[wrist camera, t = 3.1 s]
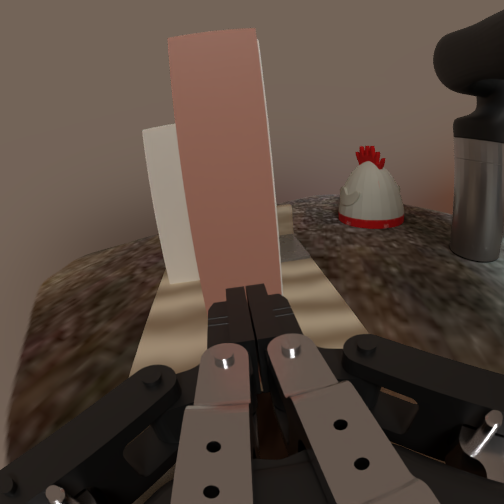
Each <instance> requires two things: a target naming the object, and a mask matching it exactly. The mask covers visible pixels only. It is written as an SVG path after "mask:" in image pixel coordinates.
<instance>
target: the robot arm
mask: <svg viewBox="0 0 504 504" xmlns="http://www.w3.org/2000/svg"><path fill="white" fill-rule="evenodd" d="M433 64H434V69H435V72H436V74H437V76H438V78H439V80H440V81H441V82H442V83H443V84H444V85H445V86H446V87H447V88H449V89H450V90H452V91H455V92H457V93H462V94H467V95H473V96H477V107H476V110H475V111H474V112H473V113H471V114H469V115H467V116H464V117H460V118H457V119H455V120H454V124H453V132H454V156H455V157H454V160H455V175H454V176H455V177H454V202H453V217H452V227H451V237H450V246H449V247H450V249H451V250H452V251H453V252H454V253H456V254H457V255H459V256H462V257H464V258H467V259H470V260H475V261H483V262H488V261H494V260H496V259H498V258H499V253H500V248H501V242H502V235H503V229H504V10H502V11H500V12H498V13H496V14H494V15H492V16H490V17H488V18H486V19H484V20H482V21H481V22H479V23H477V24H474V25H472V26H469V27H467V28H464V29H461V30H458V31H455V32H452V33H450V34H447V35H445V36H444V37H442V38H441V40H440V41H439V42H438V44H437V46H436V48H435V51H434V58H433ZM245 287H246V294H245V289H244V286H241V287H234V288H226V301H223V302H215V303H213V304H212V306H211V307H210V308H209V310H208V329H207V350H206V351H205V352H204V353H203V354H202V356H201V360H200V364H199V365H197V366H196V367H194V368H192V369H190V370H187V371H184V372H181V373H177V374H176V373H175V371H174V370H173V369H172V368H170V367H168V366H166V365H159V364H158V365H150V366H147V367H144V368H142V369H140V370H139V371H137V372H136V373H134V374H133V375H132V376H130V377H129V378H128V379H127V380H125V381H124V382H123V383H121V384H120V385H119V386H117V387H116V388H115V389H113V390H112V391H110V392H109V393H108V394H106V395H105V396H104V397H102V398H101V399H100V400H98V401H97V402H96V403H94V404H93V405H92V406H90V407H89V408H87V409H86V410H85V411H83V412H82V413H81V414H79V415H78V416H77V417H75V418H74V419H72V420H71V421H70V422H68V423H67V424H65V425H64V426H63V427H61V428H60V429H59V430H57V431H56V432H54V433H53V434H51V435H50V436H49V437H47V438H46V439H44V440H43V441H42V442H40V443H39V444H37V445H36V446H35V447H33V448H32V449H30V450H29V451H27V452H26V453H24V454H23V455H22V456H20V457H19V458H17V459H16V460H14V461H13V462H11V463H10V464H8V465H7V466H6V467H4V468H3V469H1V470H0V504H132V503H133V502H134V501H135V500H136V499H138V498H139V497H140V496H141V495H142V494H143V493H144V492H145V491H147V490H148V489H149V488H150V487H151V486H152V485H153V484H154V483H155V482H156V481H157V480H158V479H159V478H161V477H162V476H163V475H164V474H165V473H166V472H167V471H168V470H169V469H170V468H171V467H172V466H173V465H174V464H175V463H176V468H175V474H174V479H173V480H171V481H169V482H168V483H166V484H165V485H163V486H162V487H161V488H159V489H158V490H157V491H156V492H155V493H154V494H153V495H152V496H151V497H150V498H149V499H148V500H147V501H146V502H145V503H144V504H504V375H503V374H499V373H495V372H492V371H488V370H485V369H481V368H478V367H474V366H471V365H468V364H464V363H461V362H458V361H454V360H451V359H448V358H444V357H441V356H438V355H435V354H431V353H428V352H425V351H422V350H419V349H416V348H413V347H409V346H406V345H403V344H400V343H397V342H394V341H391V340H388V339H385V338H382V337H379V336H376V335H372V334H359V335H355V336H353V337H351V338H349V339H348V340H346V342H345V343H344V345H343V349H332V348H321V347H317V346H316V345H315V344H314V342H313V341H312V340H311V339H310V338H309V337H307V336H305V335H303V332H302V330H301V328H300V326H299V324H298V321H297V319H296V317H295V315H294V313H293V310H292V308H291V306H290V304H289V302H288V299H287V298H285V297H284V296H282V295H281V294H272V295H268V293H267V291H266V288H265V285H264V283H262V284H255V285H248V286H245ZM246 296H247V299H246ZM258 368H259V369H258ZM259 373H260V377H259ZM260 378H261V383H262V388H263V393H266V392H270V393H271V397H272V405H273V412H274V414H275V417H276V420H277V423H278V426H279V429H280V432H281V435H282V438H283V441H284V443H285V446H286V449H287V452H288V456H289V457H287V458H284V459H280V460H267V459H260V448H259V433H258V419H257V410H256V409H257V406H258V402H257V395H256V394H261V385H260ZM381 387H384V388H386V389H389V390H392V391H394V392H397V393H400V394H402V395H405V396H408V397H410V398H412V399H414V400H415V401H416V402H417V403H418V404H413V403H410V402H407V401H404V400H402V399H399V398H397V397H394V396H391V395H389V394H386V393H384V392H381V391H380V389H381ZM149 425H151V426H150V427H149V428H148V429H147V430H145V431H144V432H143V433H142V434H141V435H140V436H138V437H137V438H136V439H135V440H134V441H133V442H131V443H130V444H129V445H128V446H127V447H126V448H125V446H126V445H127V444H128V443H129V442H130V441H132V440H133V439H134V438H135V437H136V436H137V435H139V434H140V433H141V432H142V431H143V430H144V429H146V428H147V427H148V426H149ZM390 441H391V442H394V443H396V444H399V445H401V446H399V445H395V444H391V442H390ZM402 446H404V447H406V448H404V447H402ZM407 448H409V449H411V450H414V451H417V452H419V453H422V454H425V455H427V456H430V457H433V458H436V459H439V460H442V461H445V463H446V464H444V463H441V462H438V461H436V460H433V459H431V458H428V457H426V456H423V455H421V454H418V453H416V452H414V451H411V450H409V449H407Z"/></svg>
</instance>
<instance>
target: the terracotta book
mask: <svg viewBox="0 0 504 504" xmlns="http://www.w3.org/2000/svg"><path fill="white" fill-rule="evenodd" d="M168 51H169V62H170V63H169V64H170V75H171V86H172V96H173V106H174V115H175V124H176V133H177V141H178V149H179V156H180V164H181V171H182V178H183V185H184V191H185V198H186V204H187V210H188V217H189V223H190V229H191V234H192V240H193V246H194V251H195V257H196V262H197V267H198V273H199V278H200V283H201V288H202V293H203V298H204V303H205V308H206V312H207V317H208V310H209V308H210V307H211V306H212V304H213V303H215V302H223V301H226V288H234V287H241V286H244V289H245V294H246V287H245V286H248V285H255V284H262V283H264V285H265V288H266V291H267V293H268V295H272V294H281V295H282V296H283V285H282V271H281V257H280V244H279V231H278V219H277V207H276V196H275V184H274V174H273V164H272V153H271V143H270V134H269V124H268V116H267V106H266V97H265V89H264V80H263V71H262V63H261V56H260V47H259V40H257V37H256V29H255V28H244V29H230V30H220V31H210V32H202V33H195V34H188V35H182V36H176V37H171V38H168ZM246 299H247V296H246ZM258 369H259V368H258ZM259 377H260V373H259ZM260 382H261V378H260Z"/></svg>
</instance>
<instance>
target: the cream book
mask: <svg viewBox="0 0 504 504" xmlns="http://www.w3.org/2000/svg"><path fill="white" fill-rule="evenodd" d="M142 134H143V141H144V149H145V157H146V163H147V170H148V176H149V183H150V189H151V195H152V201H153V206H154V212H155V217H156V222H157V227H158V232H159V237H160V242H161V247H162V252H163V256H164V261H165V265H166V270H167V274H168V278H169V282H170V284H175V283H182V282H190V281H198V280H200V278H199V273H198V267H197V262H196V257H195V251H194V246H193V240H192V234H191V229H190V223H189V217H188V210H187V204H186V198H185V191H184V185H183V178H182V171H181V164H180V156H179V149H178V141H177V133H176V124H170V125H165V126H160V127H155V128H150V129H145V130H142Z"/></svg>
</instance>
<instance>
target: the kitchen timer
mask: <svg viewBox="0 0 504 504" xmlns="http://www.w3.org/2000/svg"><path fill="white" fill-rule="evenodd" d="M356 156H357V160H358V162H359V166H358V167H357V168H356V169H355V170H354V171H353V172H352V173H351V175H350V176H349V178H348V179H347V181H346V184H345V186H344V187H341V189H340V204H339V220H340V221H341V222H342V223H344V224H347V225H350V226H354V227H360V228H370V229H382V228H391V227H395V226H399V225H400V224H402V223H403V222H404V207H403V202H402V199H401V195H400V187H399V186H397V184H396V182H395V180H394V179H393V177H392V176H391V174H390V173H389V172H388V171H387V170H386V169H385V168H384V163H385V158H382V159H381V161H380V163H379V158H380V152H376V153H375V148H374V146H370V147H369V146H365V150H364V147H363V146H361V147H360V153H359V152H356Z"/></svg>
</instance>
